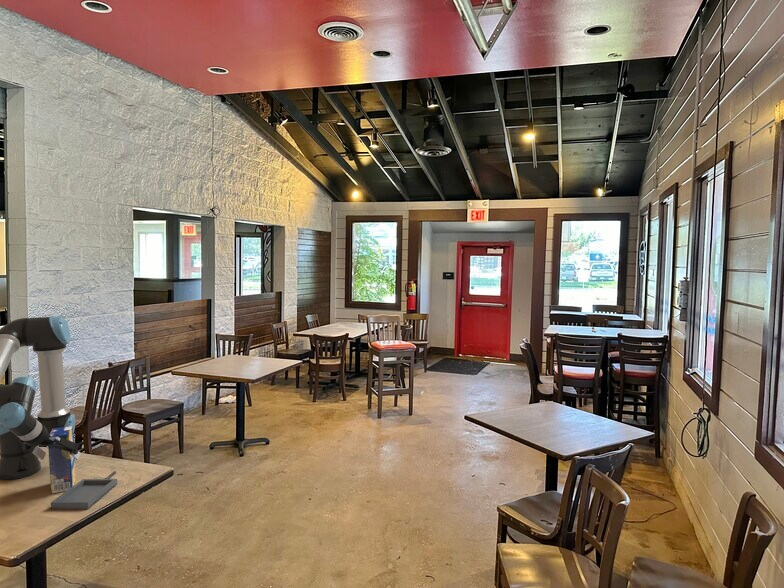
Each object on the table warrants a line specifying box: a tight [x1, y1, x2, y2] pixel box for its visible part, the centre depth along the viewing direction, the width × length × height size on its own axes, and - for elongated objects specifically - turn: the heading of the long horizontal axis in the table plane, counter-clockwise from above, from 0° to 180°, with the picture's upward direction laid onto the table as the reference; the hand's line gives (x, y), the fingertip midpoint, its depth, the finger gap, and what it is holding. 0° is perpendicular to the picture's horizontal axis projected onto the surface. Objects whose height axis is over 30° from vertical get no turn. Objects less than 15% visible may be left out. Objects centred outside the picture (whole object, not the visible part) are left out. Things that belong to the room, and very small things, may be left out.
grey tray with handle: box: [50, 470, 118, 510], centre depth 201 cm, size 30×13×2 cm, turn 0°
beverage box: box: [47, 426, 77, 494], centre depth 204 cm, size 7×11×22 cm, turn 25°
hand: (61, 456), depth 202 cm, fingers open, 13 cm apart
